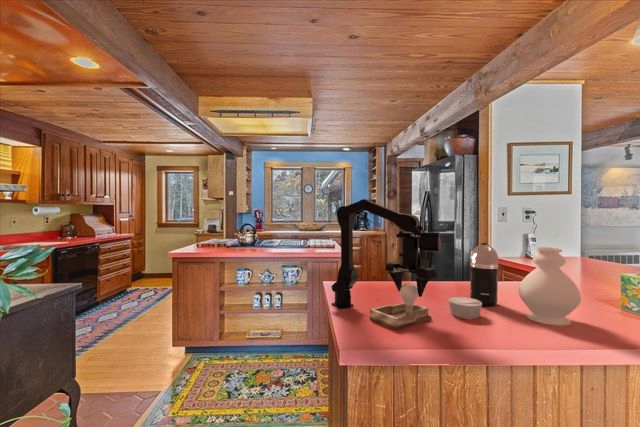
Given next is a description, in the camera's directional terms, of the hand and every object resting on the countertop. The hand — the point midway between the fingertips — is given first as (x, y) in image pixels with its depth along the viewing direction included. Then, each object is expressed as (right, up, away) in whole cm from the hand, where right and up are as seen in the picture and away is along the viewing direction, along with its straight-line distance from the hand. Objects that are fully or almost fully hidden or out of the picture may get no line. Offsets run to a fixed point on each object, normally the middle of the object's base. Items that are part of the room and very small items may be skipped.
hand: (409, 293), depth 115 cm
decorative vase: (+48, -9, -2) cm, 49 cm away
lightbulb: (0, -8, 0) cm, 8 cm away
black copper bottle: (+35, -8, +17) cm, 40 cm away
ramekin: (+21, -9, +2) cm, 23 cm away
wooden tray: (-4, -8, -2) cm, 9 cm away
